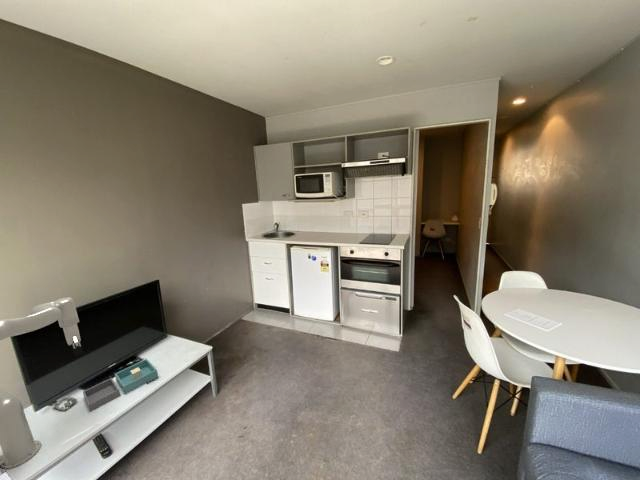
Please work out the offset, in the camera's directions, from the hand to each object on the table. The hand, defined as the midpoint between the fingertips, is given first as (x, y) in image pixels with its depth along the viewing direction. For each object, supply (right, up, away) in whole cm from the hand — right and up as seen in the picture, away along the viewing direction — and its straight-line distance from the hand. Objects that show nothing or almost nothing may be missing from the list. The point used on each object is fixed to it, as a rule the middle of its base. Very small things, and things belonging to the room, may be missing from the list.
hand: (77, 350), depth 145 cm
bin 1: (+2, -34, +15) cm, 37 cm away
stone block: (+13, -29, +28) cm, 42 cm away
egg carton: (-15, -36, +10) cm, 40 cm away
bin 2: (+14, -30, +28) cm, 43 cm away
